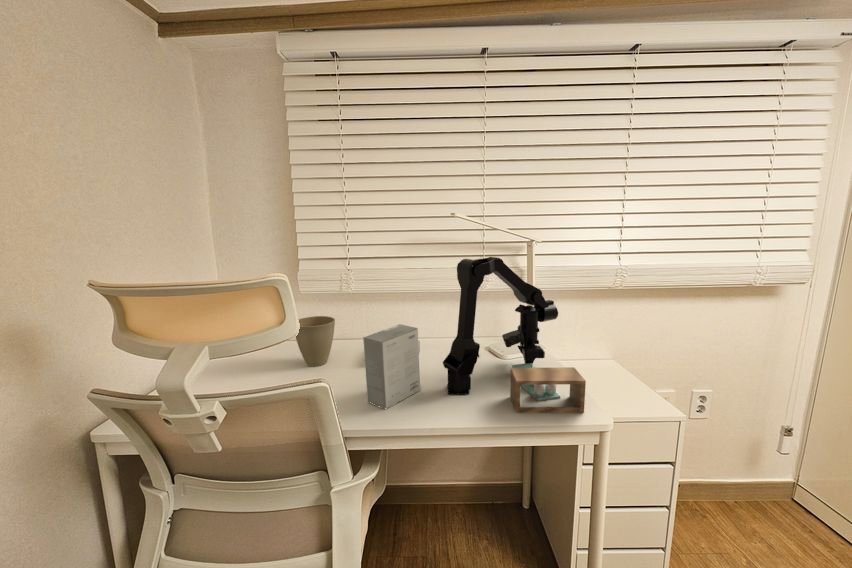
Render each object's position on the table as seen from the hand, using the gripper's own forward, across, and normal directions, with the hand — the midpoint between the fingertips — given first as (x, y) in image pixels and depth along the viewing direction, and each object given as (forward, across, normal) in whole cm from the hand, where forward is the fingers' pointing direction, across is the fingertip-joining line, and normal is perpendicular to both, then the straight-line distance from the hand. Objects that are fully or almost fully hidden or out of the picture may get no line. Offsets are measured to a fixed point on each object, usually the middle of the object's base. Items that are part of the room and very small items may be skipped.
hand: (527, 368), depth 131 cm
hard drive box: (+1, +18, -43) cm, 47 cm away
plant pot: (+1, -10, -75) cm, 76 cm away
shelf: (+1, +23, 0) cm, 23 cm away
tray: (+1, +11, 0) cm, 11 cm away
